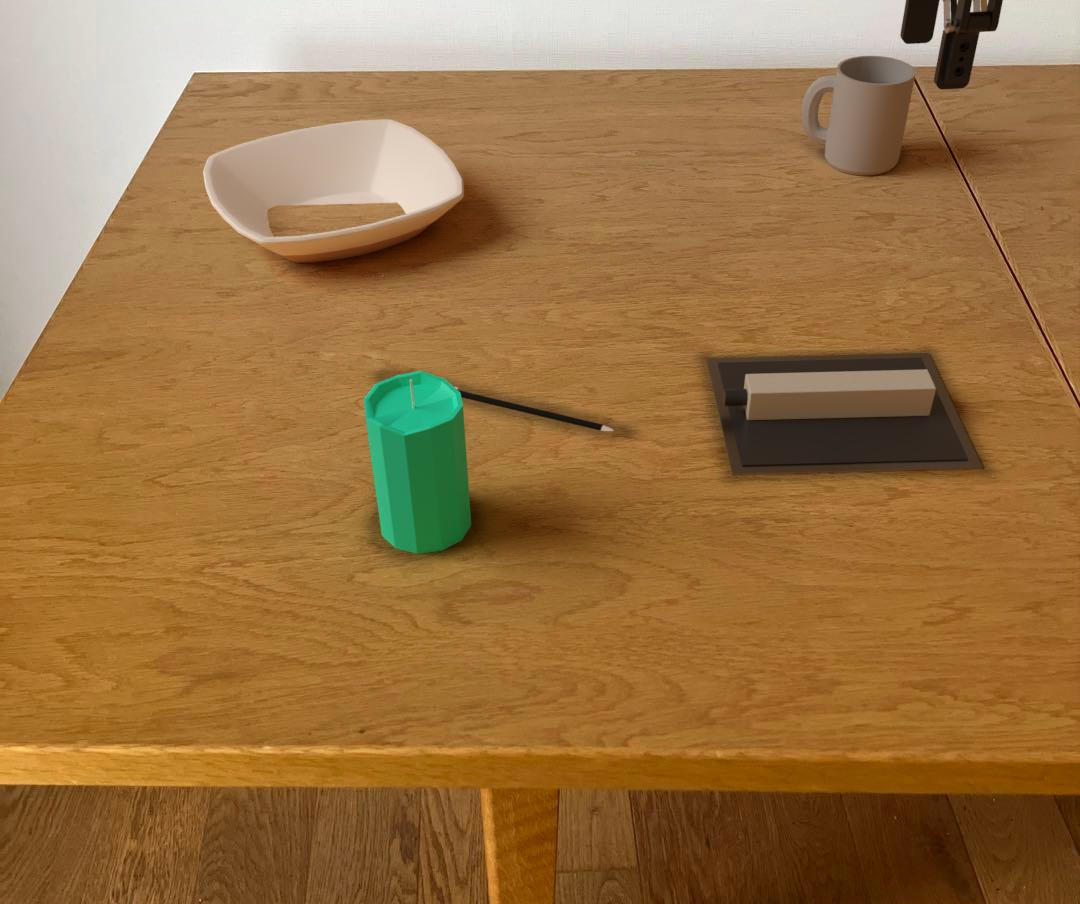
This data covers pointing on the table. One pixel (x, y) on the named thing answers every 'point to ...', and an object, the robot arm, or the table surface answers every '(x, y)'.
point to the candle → (419, 461)
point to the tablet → (839, 424)
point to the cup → (862, 113)
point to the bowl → (334, 184)
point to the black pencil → (534, 411)
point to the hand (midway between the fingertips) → (932, 63)
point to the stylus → (834, 394)
